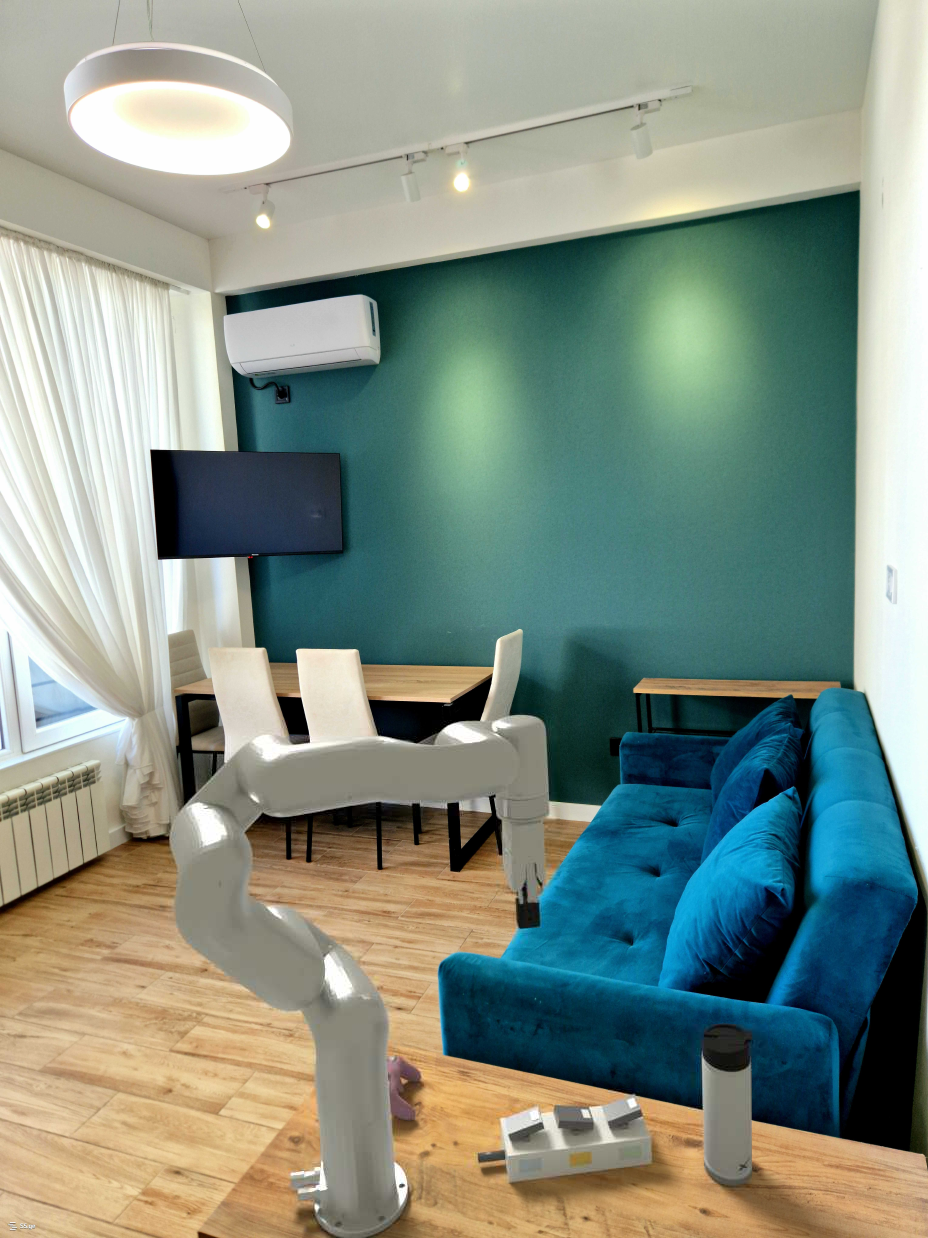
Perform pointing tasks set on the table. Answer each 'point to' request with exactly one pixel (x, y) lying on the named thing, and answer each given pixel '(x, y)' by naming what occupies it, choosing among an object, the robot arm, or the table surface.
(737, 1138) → the travel mug
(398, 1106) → the video game controller
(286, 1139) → the table surface
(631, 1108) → the rocker
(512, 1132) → the block
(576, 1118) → the rocker middle
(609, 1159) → the power strip
